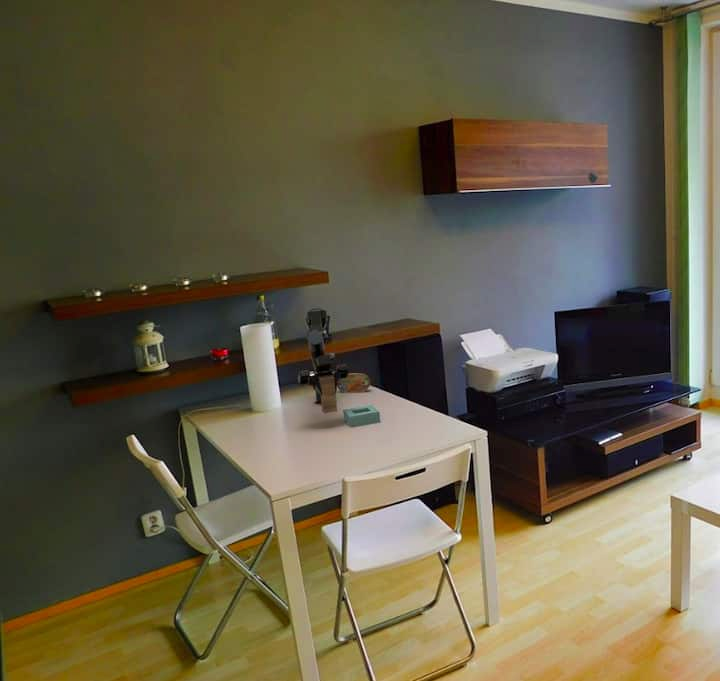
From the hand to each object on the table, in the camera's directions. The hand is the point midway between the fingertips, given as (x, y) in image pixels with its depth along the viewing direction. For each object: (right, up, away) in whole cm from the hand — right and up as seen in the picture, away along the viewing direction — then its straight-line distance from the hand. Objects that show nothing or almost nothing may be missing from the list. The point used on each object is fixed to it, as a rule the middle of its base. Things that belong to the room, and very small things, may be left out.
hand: (328, 393), depth 223 cm
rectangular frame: (+12, -11, +7) cm, 18 cm away
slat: (0, -7, +3) cm, 7 cm away
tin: (+9, -3, +48) cm, 49 cm away
